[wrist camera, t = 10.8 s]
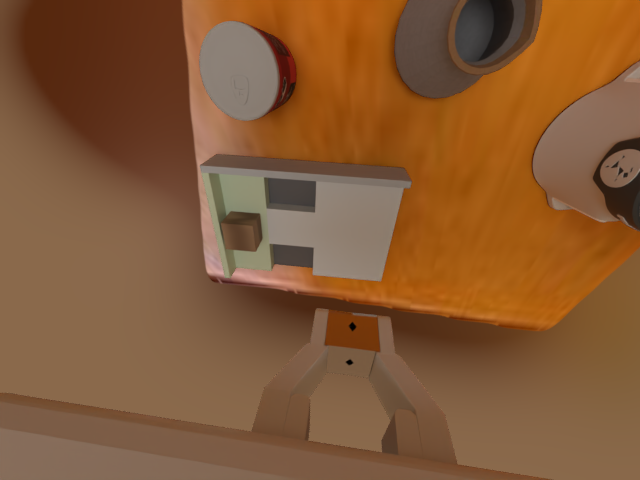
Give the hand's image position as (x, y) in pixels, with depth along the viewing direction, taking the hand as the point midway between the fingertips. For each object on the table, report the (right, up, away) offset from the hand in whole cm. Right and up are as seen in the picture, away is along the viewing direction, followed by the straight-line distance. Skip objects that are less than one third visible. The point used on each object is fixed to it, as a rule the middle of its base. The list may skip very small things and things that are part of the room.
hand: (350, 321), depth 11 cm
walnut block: (-14, +6, +33) cm, 36 cm away
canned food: (-8, +25, +23) cm, 35 cm away
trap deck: (-4, +6, +35) cm, 35 cm away
